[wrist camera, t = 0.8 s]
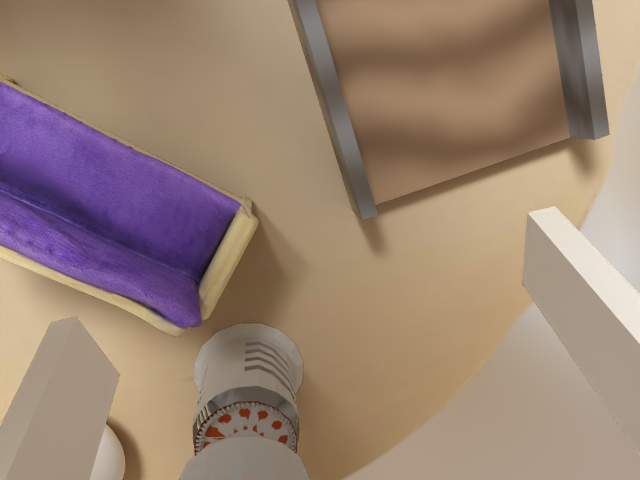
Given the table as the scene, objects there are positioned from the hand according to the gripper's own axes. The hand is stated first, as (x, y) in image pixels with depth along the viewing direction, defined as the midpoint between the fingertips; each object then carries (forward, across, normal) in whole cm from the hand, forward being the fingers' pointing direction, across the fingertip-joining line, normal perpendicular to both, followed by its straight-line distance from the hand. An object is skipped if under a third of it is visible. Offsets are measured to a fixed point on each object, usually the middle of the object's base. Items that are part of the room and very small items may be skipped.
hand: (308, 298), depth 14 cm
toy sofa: (+23, -15, -6) cm, 28 cm away
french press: (+17, -9, -24) cm, 31 cm away
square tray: (+27, +12, -2) cm, 30 cm away
